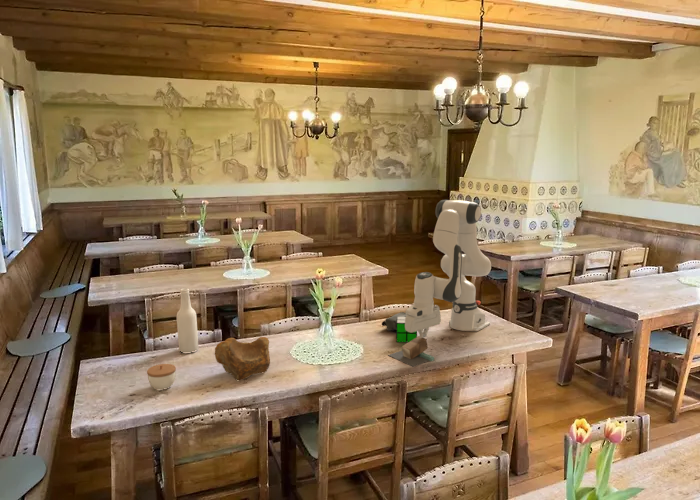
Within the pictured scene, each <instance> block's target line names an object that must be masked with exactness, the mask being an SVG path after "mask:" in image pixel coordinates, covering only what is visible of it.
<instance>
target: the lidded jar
mask: <svg viewBox="0 0 700 500" xmlns="http://www.w3.org/2000/svg"><path fill="white" fill-rule="evenodd" d="M176 369H177V367H176V365H174V364H171V363H160V364H156V365H153V366H151V367H149V368H148V369H147V371H146V375H147V379H148V383H149V385H150V386H151V387H152V388H154V390H155V389H164V388H168V387H170V386H171V387H172V385H173V384H174V383H175V380H176V375H177V374H176V373H177V372H176ZM171 387H170V388H171Z"/></svg>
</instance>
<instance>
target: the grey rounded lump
mask: <svg viewBox="0 0 700 500" xmlns="http://www.w3.org/2000/svg"><path fill="white" fill-rule="evenodd" d="M407 315H408V314H406V312H404V311H402V312H399V313H398V312H397V313H396V314H393V316H390V317H387V318H386V319H385V320H383V321H382V322H381V326H383V327H386V330H387V331H388V332H392V331H397V317H406V316H407Z"/></svg>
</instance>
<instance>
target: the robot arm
mask: <svg viewBox="0 0 700 500" xmlns="http://www.w3.org/2000/svg"><path fill="white" fill-rule="evenodd" d="M435 206H436V207H435V211H434V212H435V216H436V219H437V221H436V224H435V227H434V231H433V235H432V236H433V237H432V242H433V244H434V247H435V248H436V249H437V250H438V251H439V252H441V253H443V254H444V255H443V256H442V258H441V259H440V268H441V269H442V271H443V272H444V273H445V274H446V275H447V276H448V277H449V278H442V277H438V276H436V275H435V276H434V274H433V273H431V272H429V271H424V272H419V273H417V274H416V276H415V280H414V287H413V288H414V291H413V293H414V300H413V303H412V304H411V306H409V307H408V308H406V309H405V313H406V314H408V315H407V316H406V318H405V330H406V331H407V332H410V333H412V332H416V331H417V333H419V336H420V338H426V337H427V334H428V332H429V330H430V328H431V327H435V326H438V325H440V324H441V323H442V318H441V317H442V316H441V311H440V310H441V309H440V306H439V305H438V304H435V303H434V299H437V300H444V301H446V302H448V303H452V309H451V314H450V319H449V321H448V323H449V327H450V328H452V329H454V330H457V331H463V332H465V331H466V332H479V331H481V330H482V329H485V328H486V327H488V326H490V325H491V322H490V321H488V320H487V319H486V314H485V312H484V311H482V310H481V309H480V308H479V307H478V306H480V305H481V301H480V300H476V289H477V288H476V286H475V285H474V283H472V282H471V281H469V280H467V278H466V276H468V277H469V276H470V277H485V276H488V275H489V274H490V272H491V269H492V262H491V260H490V259H489V257H488V256H486V255H485V254H484V253H483V252H482V250H481V249H480V247H479V245H478V238H477V237H478V236H477V223H478V222H479V221H480V218H481V216H482V215H481V213H482V208H481V206H480V205H479V203H477V202H475V201H468V200H462V199H457V200H456V199H455V200H454V199H451V200H449V199H442V200H440V201H439V202H437V204H436V205H435Z"/></svg>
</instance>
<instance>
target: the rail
mask: <svg viewBox="0 0 700 500" xmlns="http://www.w3.org/2000/svg"><path fill="white" fill-rule="evenodd" d="M418 356H420V357H423V358H425V359H427V360H429V361H428V362H434V361H435V356H433V355H431V354H428V353H425V352H422V353H420V354H419V355H418Z"/></svg>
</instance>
